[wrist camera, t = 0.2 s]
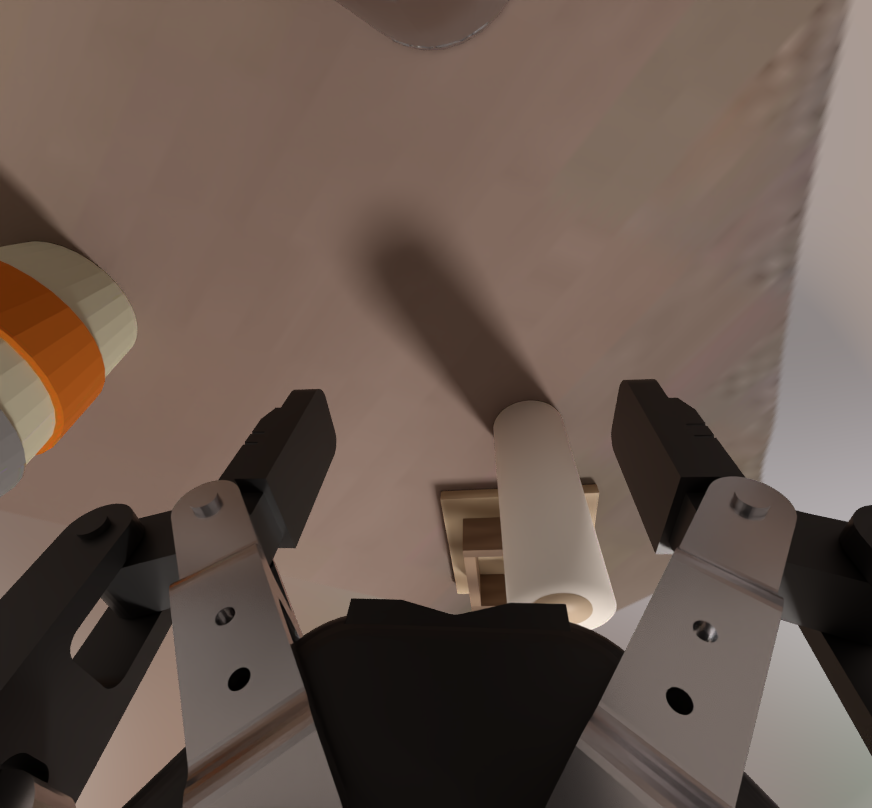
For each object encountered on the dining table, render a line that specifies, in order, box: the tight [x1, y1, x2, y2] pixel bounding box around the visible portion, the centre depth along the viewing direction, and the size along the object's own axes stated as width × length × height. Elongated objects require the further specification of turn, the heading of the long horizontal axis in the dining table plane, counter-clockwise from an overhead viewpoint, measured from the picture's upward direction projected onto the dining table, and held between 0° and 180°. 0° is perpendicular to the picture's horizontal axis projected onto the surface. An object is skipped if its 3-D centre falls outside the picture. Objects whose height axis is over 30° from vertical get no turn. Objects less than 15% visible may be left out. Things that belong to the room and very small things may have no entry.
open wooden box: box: [440, 484, 599, 611], centre depth 41 cm, size 16×14×4 cm
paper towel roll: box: [493, 400, 617, 630], centre depth 28 cm, size 6×6×15 cm
